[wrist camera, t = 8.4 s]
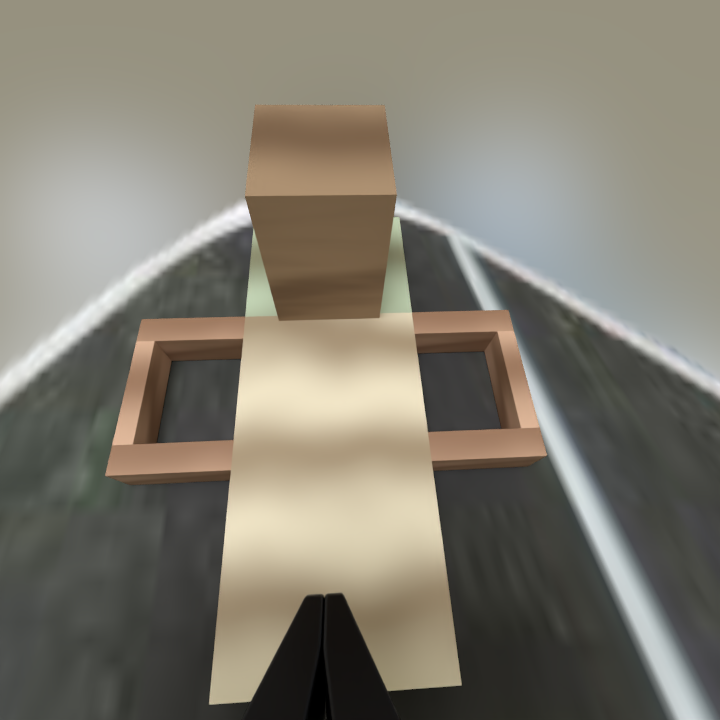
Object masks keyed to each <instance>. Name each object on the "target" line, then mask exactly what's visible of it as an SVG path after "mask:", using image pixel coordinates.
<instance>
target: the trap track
mask: <svg viewBox="0 0 720 720" xmlns="http://www.w3.org/2000/svg"><path fill="white" fill-rule="evenodd" d="M475 351H484V352H485V356H486V361H487V365H488V370H489V374H490V379H491V383H492V388H493V392H494V397H495V401H496V406H497V410H498V415H499V419H500V424H501V428H502V429H492V430H468V431H444V432H428V430H427V422H426V415H425V407H424V400H423V392H422V385H421V377H420V370H419V363H418V355H417V353H443V352H475ZM216 359H241V368H240V379H239V390H238V400H237V411H236V422H235V432H234V440H228V441H204V442H180V443H157V438H158V432H159V427H160V421H161V416H162V410H163V405H164V399H165V394H166V389H167V383H168V378H169V372H170V367H171V361H184V360H216ZM546 456H547V454H546V450H545V446H544V442H543V439H542V435H541V431H540V427H539V424H538V420H537V416H536V412H535V409H534V405H533V401H532V397H531V394H530V390H529V386H528V382H527V379H526V375H525V371H524V367H523V364H522V360H521V356H520V352H519V349H518V345H517V341H516V337H515V334H514V330H513V326H512V322H511V319H510V315H509V311H508V310H491V311H451V312H412V310H411V303H410V295H409V288H408V280H407V273H406V265H405V258H404V250H403V243H402V236H401V228H400V221H399V217H393V225H392V232H391V239H390V246H389V253H388V260H387V268H386V275H385V282H384V289H383V296H382V303H381V311H380V318H369V319H331V320H293V321H279V319H278V316H277V312H276V308H275V305H274V301H273V297H272V294H271V290H270V286H269V283H268V279H267V275H266V272H265V268H264V264H263V261H262V257H261V253H260V250H259V246H258V242H257V239H256V235H255V231H254V230H253V240H252V251H251V262H250V272H249V283H248V294H247V304H246V315H245V317H213V318H174V319H142V321H141V325H140V329H139V333H138V338H137V342H136V346H135V350H134V355H133V359H132V363H131V368H130V372H129V376H128V380H127V385H126V389H125V393H124V397H123V402H122V406H121V410H120V415H119V419H118V423H117V427H116V432H115V436H114V440H113V444H112V449H111V453H110V457H109V461H108V466H107V470H106V474H105V476H107V477H110V478H112V479H115V480H118V481H120V482H123V483H126V484H129V485H141V484H162V483H184V482H205V481H226V480H230V486H229V496H228V507H227V518H226V528H225V539H224V550H223V560H222V571H221V582H220V592H219V603H218V614H217V624H216V635H215V645H214V656H213V667H212V677H211V688H210V699H209V705H212V704H225V703H238V702H251V700H252V698H253V696H254V694H255V692H256V690H257V688H258V686H259V684H260V683H261V681H262V679H263V677H264V675H265V673H266V671H267V669H268V667H269V665H270V663H271V661H272V659H273V657H274V655H275V653H276V651H277V650H278V648H279V646H280V644H281V642H282V640H283V638H284V636H285V634H286V632H287V630H288V628H289V626H290V624H291V622H292V620H293V619H294V617H295V615H296V613H297V611H298V609H299V607H300V605H301V603H302V601H303V599H304V598H305V596H306V595H308V594H323V595H324V598H325V595H326V594H327V593H338V592H341V593H343V594H344V596H345V598H346V600H347V602H348V605H349V607H350V609H351V611H352V614H353V616H354V618H355V620H356V622H357V625H358V627H359V629H360V631H361V633H362V636H363V638H364V640H365V642H366V644H367V647H368V649H369V651H370V653H371V655H372V658H373V660H374V662H375V664H376V667H377V669H378V671H379V673H380V675H381V678H382V680H383V682H384V684H385V686H386V689H387V691H395V690H408V689H421V688H434V687H447V686H460V685H462V684H461V676H460V669H459V661H458V654H457V646H456V639H455V631H454V624H453V616H452V609H451V601H450V594H449V587H448V579H447V572H446V564H445V557H444V549H443V542H442V534H441V527H440V519H439V512H438V504H437V497H436V489H435V482H434V475H433V471H439V470H460V469H482V468H503V467H524V466H529V465H531V464H533V463H534V462H536V461H538V460H540V459H542V458H544V457H546Z"/></svg>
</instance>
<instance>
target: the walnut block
mask: <svg viewBox="0 0 720 720" xmlns="http://www.w3.org/2000/svg"><path fill="white" fill-rule="evenodd" d="M396 196H397V193H396V186H395V179H394V172H393V164H392V157H391V150H390V142H389V135H388V127H387V120H386V112H385V106H384V105H255V111H254V120H253V129H252V138H251V147H250V156H249V165H248V174H247V183H246V191H245V198H246V202H247V205H248V209H249V213H250V216H251V220H252V224H253V228H254V231H255V235H256V239H257V242H258V246H259V250H260V253H261V257H262V261H263V264H264V268H265V272H266V275H267V279H268V283H269V286H270V290H271V294H272V297H273V301H274V305H275V308H276V312H277V316H278V319H279V321H293V320H331V319H369V318H380V311H381V303H382V296H383V289H384V282H385V275H386V268H387V260H388V253H389V246H390V239H391V232H392V225H393V217H394V210H395V203H396Z"/></svg>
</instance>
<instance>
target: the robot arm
mask: <svg viewBox="0 0 720 720" xmlns="http://www.w3.org/2000/svg"><path fill="white" fill-rule="evenodd" d="M325 708H326V718H327V720H400V717H399V715H398V713H397V711H396V709H395V706H394V704H393V702H392V700H391V697H390V695H389V693H388V691H387V689H386V686H385V684H384V682H383V680H382V678H381V675H380V673H379V671H378V669H377V667H376V664H375V662H374V660H373V658H372V655H371V653H370V651H369V649H368V647H367V644H366V642H365V640H364V638H363V636H362V633H361V631H360V629H359V627H358V625H357V622H356V620H355V618H354V616H353V614H352V611H351V609H350V607H349V605H348V602H347V600H346V598H345V596H344V594H343V593H341V592H338V593H327V594H326V595H325V598H324V595H323V594H308V595H306V596H305V598H304V599H303V601H302V603H301V605H300V607H299V609H298V611H297V613H296V615H295V617H294V619H293V620H292V622H291V624H290V626H289V628H288V630H287V632H286V634H285V636H284V638H283V640H282V642H281V644H280V646H279V648H278V650H277V651H276V653H275V655H274V657H273V659H272V661H271V663H270V665H269V667H268V669H267V671H266V673H265V675H264V677H263V679H262V681H261V683H260V684H259V686H258V688H257V690H256V692H255V694H254V696H253V698H252V700H251V702H250V704H249V706H248V708H247V710H246V712H245V714H244V715H243V717H242V719H241V720H325Z"/></svg>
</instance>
